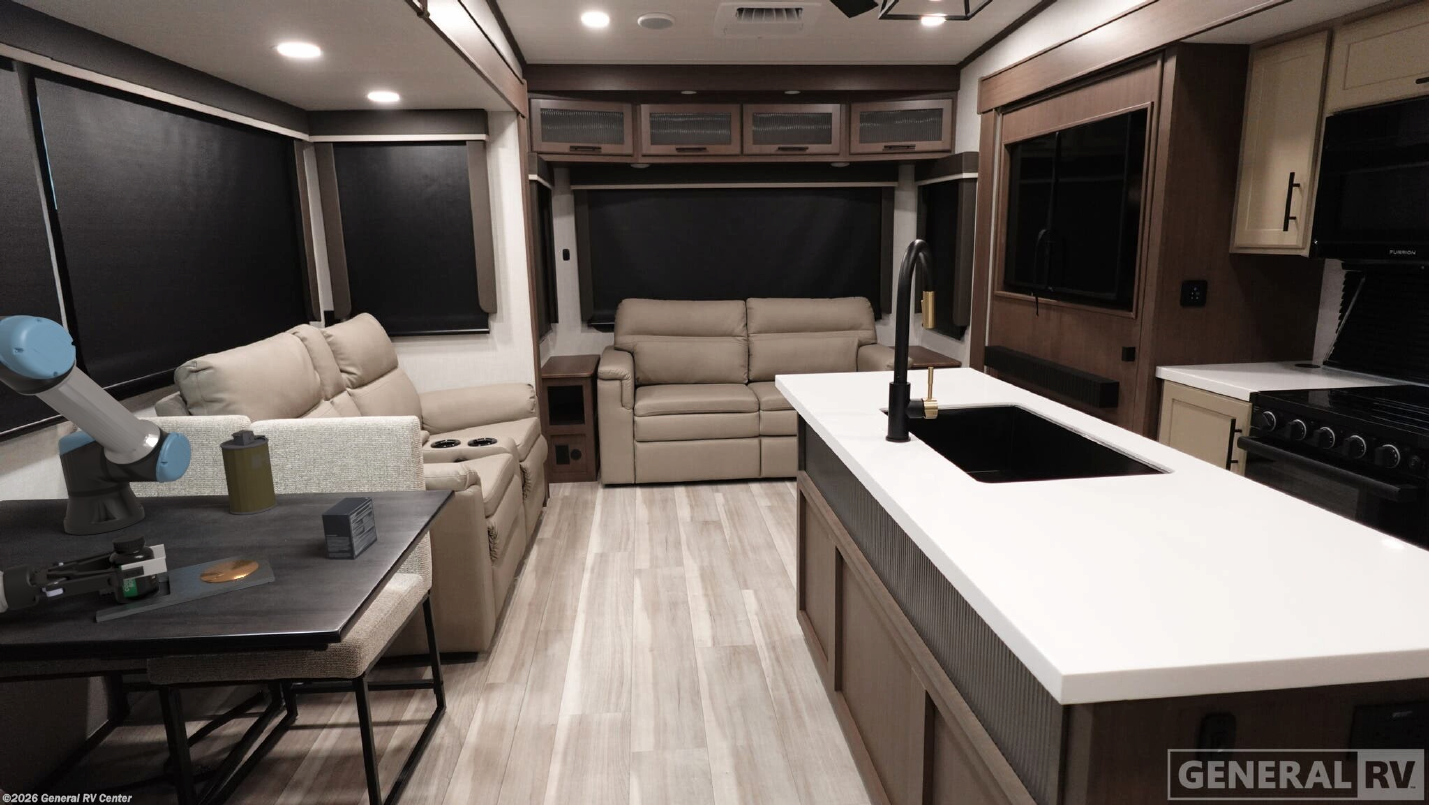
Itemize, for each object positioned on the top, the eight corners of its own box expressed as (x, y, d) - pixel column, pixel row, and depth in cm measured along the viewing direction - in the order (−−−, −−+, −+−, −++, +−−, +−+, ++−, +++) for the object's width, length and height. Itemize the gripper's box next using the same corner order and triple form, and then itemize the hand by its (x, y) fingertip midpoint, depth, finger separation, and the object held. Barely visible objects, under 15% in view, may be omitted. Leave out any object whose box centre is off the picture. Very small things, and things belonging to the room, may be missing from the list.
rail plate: (97, 622, 136) (95, 616, 136) (100, 589, 149) (99, 584, 149) (275, 581, 153) (274, 575, 152) (264, 554, 165) (264, 549, 165)
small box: (350, 540, 173) (344, 496, 171) (378, 540, 173) (373, 496, 171) (325, 559, 163) (319, 513, 160) (355, 559, 162) (350, 513, 160)
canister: (255, 516, 187) (244, 437, 183) (219, 513, 189) (207, 435, 185) (288, 501, 198) (278, 426, 193) (253, 498, 200) (242, 424, 195)
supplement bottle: (137, 606, 142) (126, 546, 140) (106, 602, 144) (95, 543, 141) (169, 589, 149) (159, 532, 146) (140, 586, 150) (129, 529, 148)
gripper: (17, 589, 143) (166, 558, 156) (2, 632, 127) (169, 594, 141) (8, 551, 141) (160, 523, 155) (-8, 591, 126) (163, 556, 139)
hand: (164, 557), depth 148 cm, fingers closed on supplement bottle, 7 cm apart
